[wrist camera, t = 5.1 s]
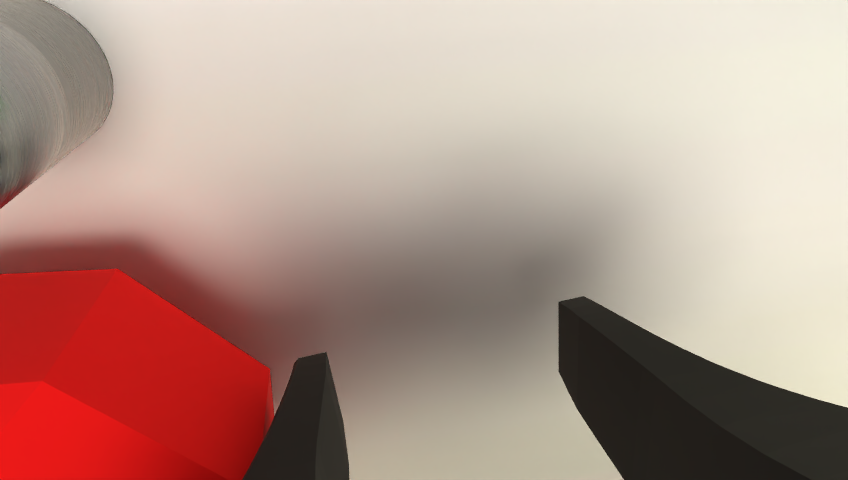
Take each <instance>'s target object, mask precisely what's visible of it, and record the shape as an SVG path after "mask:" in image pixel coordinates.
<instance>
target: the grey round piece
mask: <svg viewBox="0 0 848 480" xmlns="http://www.w3.org/2000/svg"><path fill="white" fill-rule="evenodd" d="M112 98H113V82H112V75H111V72H110V68H109V65H108V62H107V60H106V58H105V56H104V54H103V52H102V50H101V48H100V47H99V45H98V44H97V42H96V41H95V40H94V38H93V37H92V36H91V34H90V33H89V32H88V31H87V30H86V29H85V28H84V27H83V26H82V25H81V24H80V23H78V22H77V21H76V20H75V19H74V18H72V17H71V16H70V15H68V14H67V13H65V12H64V11H62V10H60V9H59V8H57V7H55V6H53V5H51V4H49V3H47V2H44V1H42V0H0V209H1V208H2V207H3V206H4V205H6V204H7V203H8V202H9V201H11V200H12V199H13V198H14V197H16V196H17V195H18V194H19V193H21V192H22V191H23V190H24V189H25V188H27V187H28V186H29V185H30V184H32V183H33V182H34V181H35V180H37V179H38V178H39V177H40V176H42V175H43V174H44V173H45V172H47V171H48V170H49V169H50V168H52V167H53V166H54V165H55V164H57V163H58V162H59V161H60V160H61V159H63V158H64V157H65V156H66V155H68V154H69V153H70V152H71V151H73V150H74V149H75V148H76V147H78V146H79V145H80V144H81V143H83V142H84V141H85V140H86V139H88V138H89V137H90V136H91V135H93V134H94V133H95V132H96V131H97V130H98V129H99V128H100V127H101V125H102V124H103V122H104V121H105V119H106V117H107V115H108V113H109V111H110V107H111V104H112Z"/></svg>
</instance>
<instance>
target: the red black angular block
mask: <svg viewBox="0 0 848 480" xmlns="http://www.w3.org/2000/svg"><path fill="white" fill-rule="evenodd" d="M273 418H274V408H273V397H272V386H271V375H270V369H269V368H268V367H266V366H265V365H263V364H262V363H260V362H259V361H257V360H256V359H254V358H253V357H251V356H249V355H248V354H246V353H245V352H243V351H242V350H240V349H239V348H237V347H236V346H234V345H233V344H231V343H230V342H228V341H227V340H225V339H224V338H222V337H221V336H219V335H218V334H216V333H215V332H213V331H212V330H210V329H209V328H207V327H205V326H204V325H202V324H201V323H199V322H198V321H196V320H195V319H193V318H192V317H190V316H189V315H187V314H186V313H184V312H183V311H181V310H180V309H178V308H177V307H175V306H174V305H172V304H171V303H169V302H168V301H166V300H164V299H163V298H161V297H160V296H158V295H157V294H155V293H154V292H152V291H151V290H149V289H148V288H146V287H145V286H143V285H142V284H140V283H139V282H137V281H136V280H134V279H133V278H131V277H130V276H128V275H127V274H125V273H124V272H122V271H120V270H119V269H99V270H77V271H55V272H34V273H12V274H0V480H242V479H243V477H244V475H245V474H246V472H247V470H248V468H249V466H250V465H251V463H252V461H253V459H254V457H255V455H256V453H257V451H258V449H259V447H260V445H261V444H262V442H263V440H264V438H265V436H266V434H267V432H268V429H269V427H270V425H271V423H272V421H273Z"/></svg>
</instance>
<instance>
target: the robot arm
mask: <svg viewBox="0 0 848 480" xmlns="http://www.w3.org/2000/svg"><path fill="white" fill-rule="evenodd" d="M559 373H560V375H561V377H562V379H563V381H564V383H565V386H566V388H567V390H568V392H569V394H570V396H571V398H572V400H573V402H574V404H575V406H576V408H577V409H578V411H579V413H580V414H581V416H582V417H583V419H584V420H585V422H586V423H587V425H588V426H589V428H590V429H591V431H592V432H593V434H594V435H595V437H596V438H597V440H598V441H599V443H600V444H601V446H602V447H603V449H604V450H605V452H606V453H607V455H608V456H609V458H610V459H611V461H612V462H613V464H614V465H615V467H616V468H617V470H618V471H619V473H620V474H621V476H622V477H623V479H624V480H848V408H847V407H843V406H839V405H835V404H832V403H828V402H824V401H821V400H817V399H814V398H811V397H807V396H804V395H801V394H798V393H794V392H791V391H788V390H785V389H782V388H778V387H776V386H773V385H770V384H767V383H764V382H761V381H758V380H756V379H753V378H750V377H748V376H745V375H743V374H740V373H737V372H735V371H732V370H730V369H727V368H725V367H722V366H720V365H717V364H715V363H713V362H710V361H708V360H706V359H704V358H702V357H699V356H697V355H695V354H693V353H691V352H689V351H687V350H684V349H682V348H680V347H678V346H676V345H674V344H672V343H670V342H668V341H666V340H664V339H662V338H660V337H658V336H656V335H654V334H652V333H651V332H649V331H647V330H645V329H643V328H641V327H639V326H638V325H636V324H634V323H632V322H630V321H628V320H627V319H625V318H623V317H621V316H619V315H617V314H616V313H614V312H612V311H610V310H608V309H607V308H605V307H603V306H601V305H599V304H597V303H596V302H594V301H592V300H590V299H588V298H586V297H584V296H583V297H579V298H574V299H569V300H565V301H560V302H559ZM242 480H349V462H348V454H347V446H346V439H345V432H344V424H343V419H342V415H341V411H340V406H339V402H338V398H337V394H336V390H335V386H334V382H333V378H332V373H331V369H330V365H329V361H328V357H327V353H326V352H325V353H320V354H315V355H311V356H306V357H302V358H298V359H297V361H296V362H295V363H294V366H293V370H292V373H291V376H290V379H289V382H288V384H287V387H286V390H285V392H284V395H283V397H282V400H281V402H280V405H279V407H278V409H277V412H276V414H275V416H274V418H273V421H272V423H271V425H270V427H269V429H268V432H267V434H266V436H265V438H264V440H263V442H262V444H261V445H260V447H259V449H258V451H257V453H256V455H255V457H254V459H253V461H252V463H251V465H250V466H249V468H248V470H247V472H246V474H245V475H244V477H243V479H242Z"/></svg>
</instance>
